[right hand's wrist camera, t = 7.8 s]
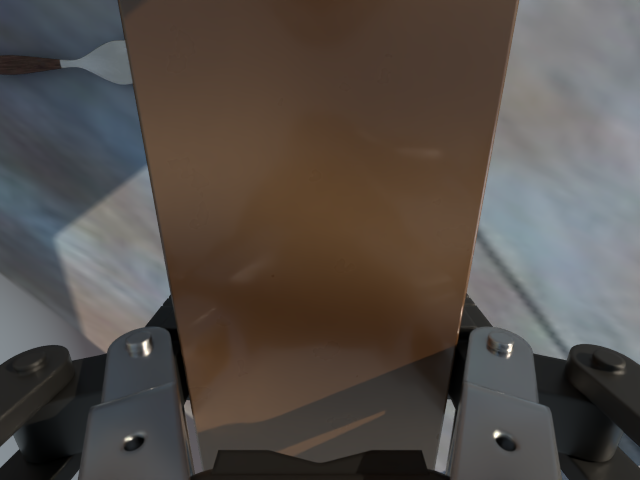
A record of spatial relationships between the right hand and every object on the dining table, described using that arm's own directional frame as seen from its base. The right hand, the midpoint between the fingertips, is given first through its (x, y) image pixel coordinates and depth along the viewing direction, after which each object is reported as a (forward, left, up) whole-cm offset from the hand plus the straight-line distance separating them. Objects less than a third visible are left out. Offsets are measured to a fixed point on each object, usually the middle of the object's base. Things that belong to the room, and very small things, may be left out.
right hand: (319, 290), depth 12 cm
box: (+7, 0, -7) cm, 10 cm away
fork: (+8, +18, -15) cm, 25 cm away
